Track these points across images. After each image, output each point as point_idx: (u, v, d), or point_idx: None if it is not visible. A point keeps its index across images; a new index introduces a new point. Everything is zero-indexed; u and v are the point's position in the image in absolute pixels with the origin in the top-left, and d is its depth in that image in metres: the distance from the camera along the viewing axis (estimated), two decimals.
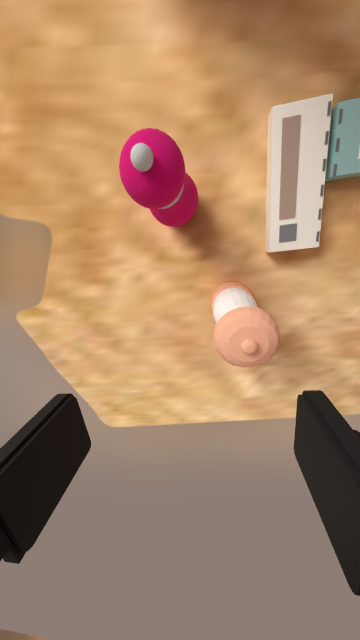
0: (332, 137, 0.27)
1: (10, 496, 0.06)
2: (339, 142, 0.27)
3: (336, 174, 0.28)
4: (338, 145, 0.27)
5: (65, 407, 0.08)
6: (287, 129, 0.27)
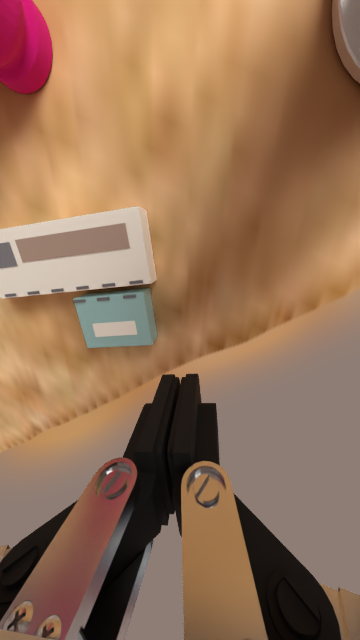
0: (116, 293, 0.22)
1: (166, 461, 0.06)
2: (106, 300, 0.22)
3: (75, 303, 0.23)
4: (102, 300, 0.22)
5: (176, 386, 0.09)
6: (114, 233, 0.20)
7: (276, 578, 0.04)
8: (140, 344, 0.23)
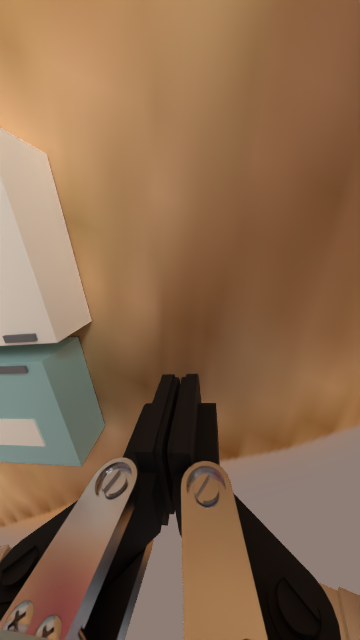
0: None
1: (166, 461, 0.06)
2: None
3: None
4: None
5: (176, 386, 0.09)
6: None
7: (276, 578, 0.04)
8: (56, 463, 0.11)
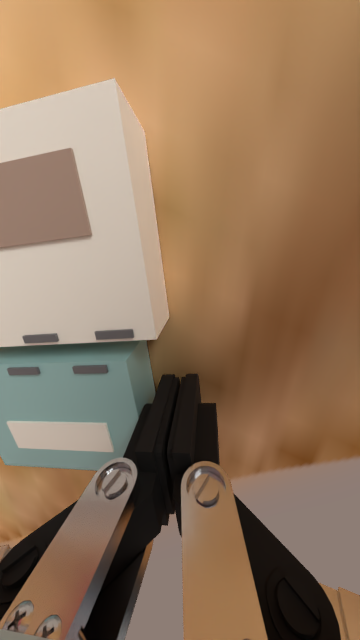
0: (61, 353, 0.09)
1: (166, 461, 0.06)
2: (31, 373, 0.08)
3: None
4: (23, 373, 0.09)
5: (176, 386, 0.09)
6: (41, 187, 0.06)
7: (276, 578, 0.04)
8: None
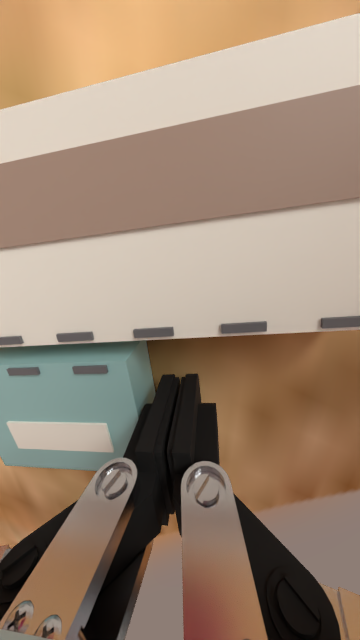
0: (61, 353, 0.09)
1: (166, 461, 0.06)
2: (31, 374, 0.08)
3: None
4: (22, 374, 0.09)
5: (176, 386, 0.09)
6: (316, 135, 0.05)
7: (276, 579, 0.04)
8: None
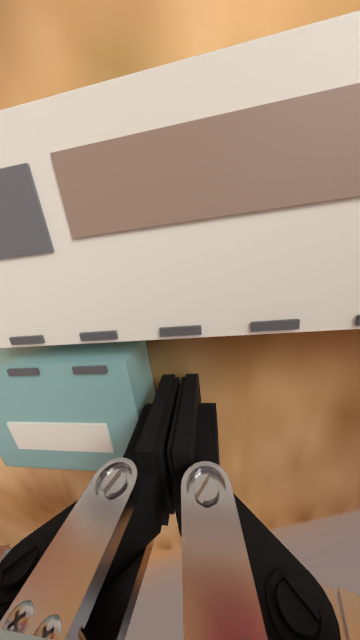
0: (61, 354, 0.09)
1: (166, 461, 0.06)
2: (30, 374, 0.08)
3: None
4: (22, 375, 0.09)
5: (176, 386, 0.09)
6: None
7: (276, 578, 0.04)
8: None
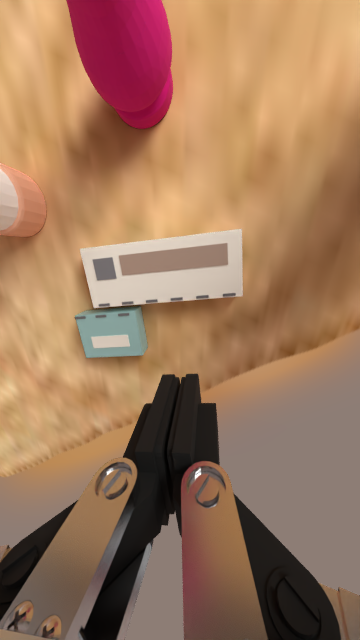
0: (112, 311, 0.26)
1: (166, 461, 0.06)
2: (103, 317, 0.26)
3: (76, 319, 0.26)
4: (100, 317, 0.26)
5: (176, 386, 0.09)
6: (215, 251, 0.22)
7: (276, 578, 0.04)
8: (132, 354, 0.27)
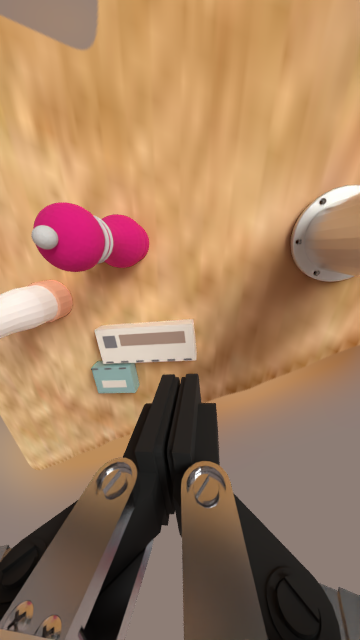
0: (115, 364, 0.41)
1: (166, 461, 0.06)
2: (109, 369, 0.40)
3: (92, 370, 0.41)
4: (107, 369, 0.40)
5: (176, 386, 0.09)
6: (177, 335, 0.36)
7: (276, 578, 0.04)
8: (128, 392, 0.41)
